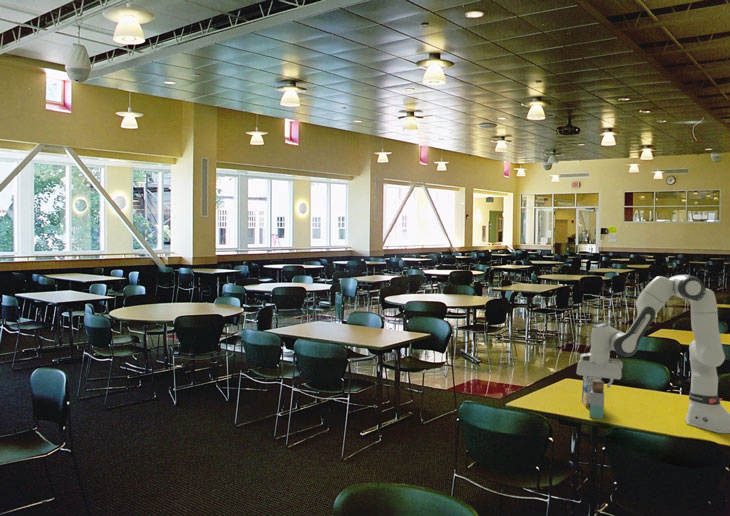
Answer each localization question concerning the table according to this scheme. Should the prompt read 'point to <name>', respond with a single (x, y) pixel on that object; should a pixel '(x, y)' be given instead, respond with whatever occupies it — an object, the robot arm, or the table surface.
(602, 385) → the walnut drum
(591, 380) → the beverage box
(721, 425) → the robot arm
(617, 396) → the table surface
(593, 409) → the tower base
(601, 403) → the tower top
